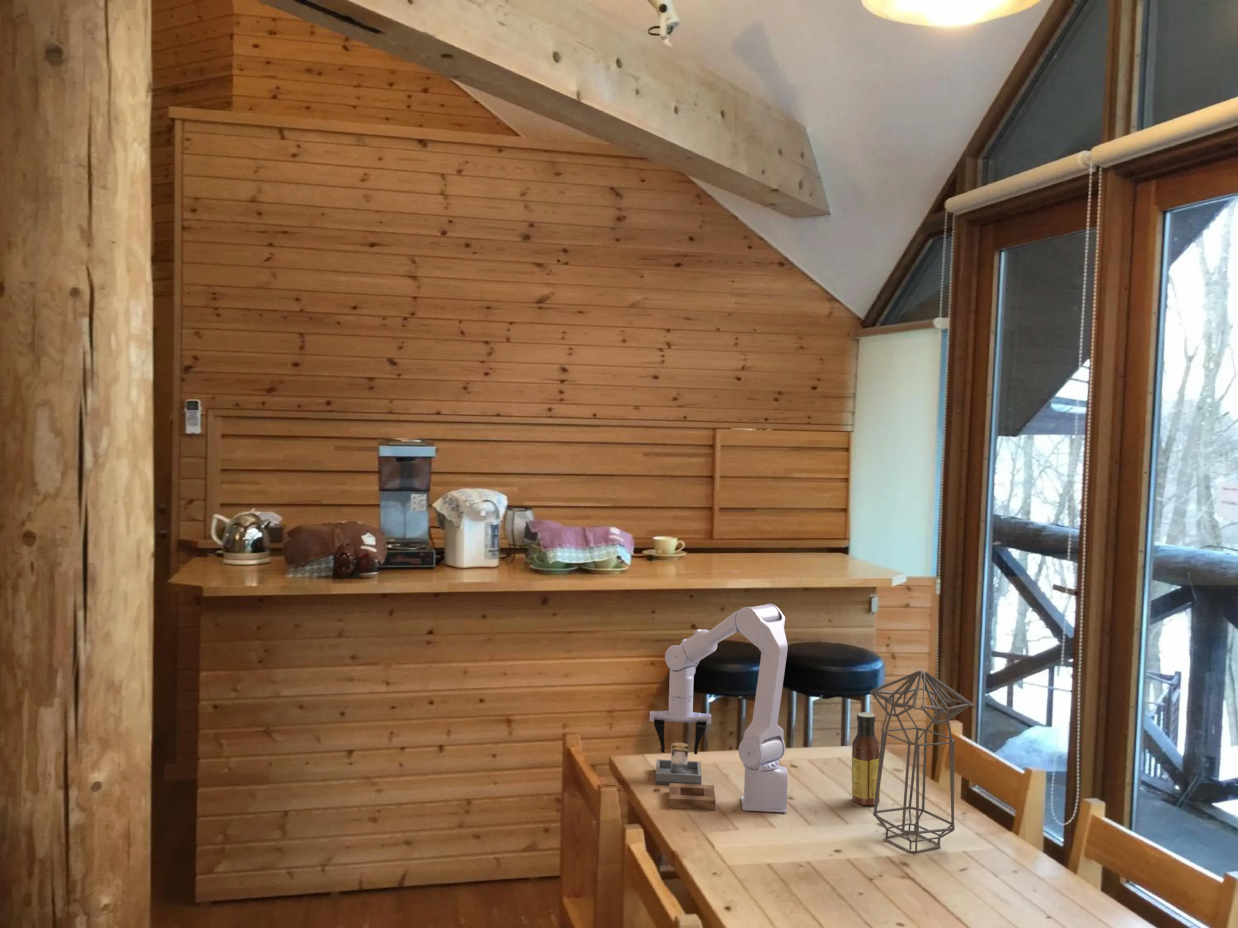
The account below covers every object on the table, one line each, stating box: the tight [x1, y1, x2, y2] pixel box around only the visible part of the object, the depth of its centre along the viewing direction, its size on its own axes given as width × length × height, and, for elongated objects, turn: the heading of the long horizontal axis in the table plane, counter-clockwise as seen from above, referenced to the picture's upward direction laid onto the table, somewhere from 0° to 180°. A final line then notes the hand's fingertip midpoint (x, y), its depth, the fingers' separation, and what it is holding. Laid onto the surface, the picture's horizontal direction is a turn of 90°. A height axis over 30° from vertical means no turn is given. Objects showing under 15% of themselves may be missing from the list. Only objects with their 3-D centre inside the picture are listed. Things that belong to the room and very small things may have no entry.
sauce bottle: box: [851, 711, 881, 807], centre depth 228 cm, size 6×6×20 cm
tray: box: [655, 758, 703, 786], centre depth 240 cm, size 11×11×2 cm
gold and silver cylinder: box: [670, 742, 689, 774], centre depth 240 cm, size 4×4×7 cm
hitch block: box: [668, 783, 717, 811], centre depth 225 cm, size 10×10×2 cm
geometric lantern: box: [869, 669, 974, 854], centre depth 205 cm, size 16×16×35 cm
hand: (679, 752), depth 240 cm, fingers open, 7 cm apart
